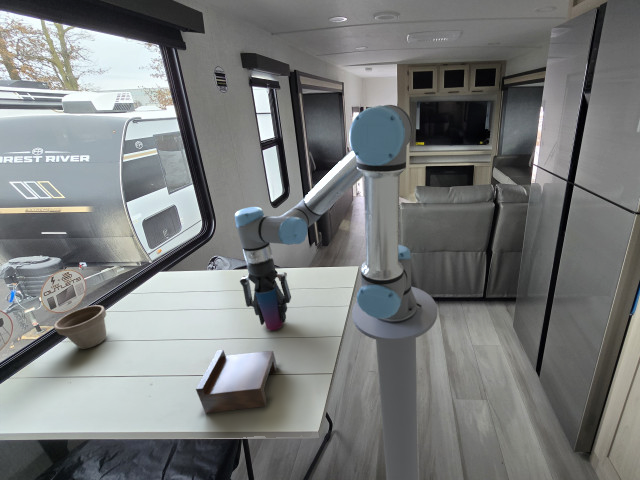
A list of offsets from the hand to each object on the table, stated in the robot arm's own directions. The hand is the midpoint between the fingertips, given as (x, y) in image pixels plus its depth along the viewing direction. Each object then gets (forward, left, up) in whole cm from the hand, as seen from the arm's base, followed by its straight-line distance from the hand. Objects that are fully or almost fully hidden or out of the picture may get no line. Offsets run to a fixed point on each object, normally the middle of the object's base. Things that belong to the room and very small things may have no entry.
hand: (273, 320), depth 101 cm
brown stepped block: (+2, +24, -2) cm, 24 cm away
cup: (0, 0, -2) cm, 2 cm away
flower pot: (+57, -1, -2) cm, 57 cm away
